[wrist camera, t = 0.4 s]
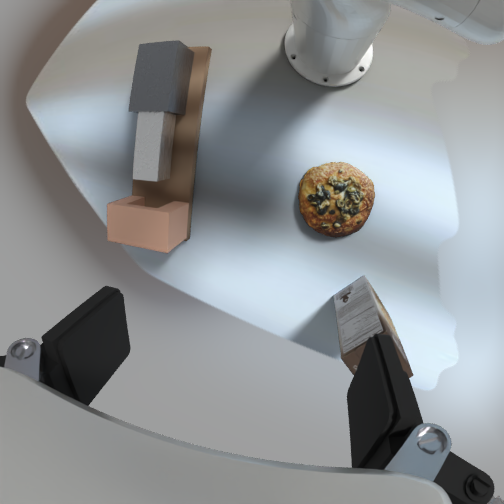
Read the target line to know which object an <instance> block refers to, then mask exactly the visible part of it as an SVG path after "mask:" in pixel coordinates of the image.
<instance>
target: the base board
mask: <svg viewBox="0 0 504 504" xmlns="http://www.w3.org/2000/svg"><path fill="white" fill-rule="evenodd" d="M188 48H189V49H191V50H192V51H193V52H195V54H194V60H193V65H192V72H191V78H190V84H189V91H188V98H187V105H186V113H185V115H176V120H175V128H174V137H173V147H172V157H171V168H170V178H169V179H165V180H162V181H158V182H156V181H147V180H137V179H133V190H132V195H133V196H141V197H145V207H152V208H160V207H162V206H164V205H166V204H169V203H171V202H173V201H178V202H185V203H189V209H188V223H187V238H186V239H185V240H183V241H187V240H188V239H190V228H191V214H192V202H193V190H194V179H195V169H196V159H197V150H198V141H199V133H200V124H201V117H202V109H203V102H204V95H205V88H206V81H207V75H208V68H209V62H210V56H211V50H212V49H211V48H210V47H188Z"/></svg>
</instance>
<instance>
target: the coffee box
mask: <svg viewBox="0 0 504 504" xmlns="http://www.w3.org/2000/svg"><path fill="white" fill-rule="evenodd" d="M333 297H334V304H335V311H336V318H337V326H338V335H339V343H340V352H341V359H342V361H343V362H344V363H345V364H346V366H347V367H348V368H349V370H350V371H351V372H352V374H353V375H355V372H356V370H357V367H358V364H359V362H360V359H361V356H362V354H363V351H364V348H365V346H366V343H367V340H368V338H369V337H373V336H374V334H386V335H390V336H391V338H392V340H393V343H394V346H395V348H396V351H397V354H398V357H399V359H400V362H401V365H402V368H403V371H405V372H407V374H408V377H409V378H410V377H412V376H413V373H412V370H411V368H410V365H409V362H408V360H407V357H406V354H405V352H404V349H403V347H402V344H401V342H400V339H399V337H398V335H397V332H396V330H395V327H394V325H393V323H392V320H391V318H390V316H389V314H388V312H387V311H386V309H385V307H384V306H383V304H382V302H381V301H380V299H379V297H378V296H377V294H376V292H375V291H374V289H373V288H372V286H371V284H370V283H369V281H368V280H367V278H366V277H365V276H362V277H361V278H359V279H358V280H356V281H355V282H353V283H352V284H350V285H349V286H347V287H346V288H344V289H343V290H341V291H339V292H338V293H336V294H335V295H334V296H333Z"/></svg>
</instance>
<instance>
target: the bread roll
mask: <svg viewBox="0 0 504 504" xmlns="http://www.w3.org/2000/svg"><path fill="white" fill-rule="evenodd" d="M299 186H300V190H299V196H298V199H299V206H300V212H301V214H302V215H303V217H304V220H305V221H306V222H307V224H308V225H309V226H310V227H312V228H313V229H314V230H315V231H317V232H318V233H321V234H324V235H326V236H330V237H342V236H346V235H350V234H352V233H355V232H357V231H359V230H360V229H361V228H362V226H363V225H364V223H365V222H366V220H367V219H368V217H369V215H370V212H371V210H372V207H373V203H374V198H375V192H374V185H373V182H372V181H371V179H369V178H368V177H367V176H366V175H365V174H364V173H363V172H362V171H360V170H359V169H357V168H355V167H353V166H352V165H350V164H348V163H344V162H339V163H336V162H331V163H326V164H324V165H321V166H319V167H312V168H311V169H309V170H308V171H307V173H306V174H305V176H304V178H303V179H302V180H301V182H300V185H299Z"/></svg>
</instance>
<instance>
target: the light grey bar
mask: <svg viewBox="0 0 504 504" xmlns="http://www.w3.org/2000/svg"><path fill="white" fill-rule="evenodd" d="M175 120H176V114H175V113H170V112H165V111H143V112H138V120H137V129H136V139H135V150H134V164H133V179H137V180H147V181H156V182H158V181H162V180H165V179H169V178H170V168H171V157H172V147H173V137H174V128H175Z"/></svg>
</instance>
